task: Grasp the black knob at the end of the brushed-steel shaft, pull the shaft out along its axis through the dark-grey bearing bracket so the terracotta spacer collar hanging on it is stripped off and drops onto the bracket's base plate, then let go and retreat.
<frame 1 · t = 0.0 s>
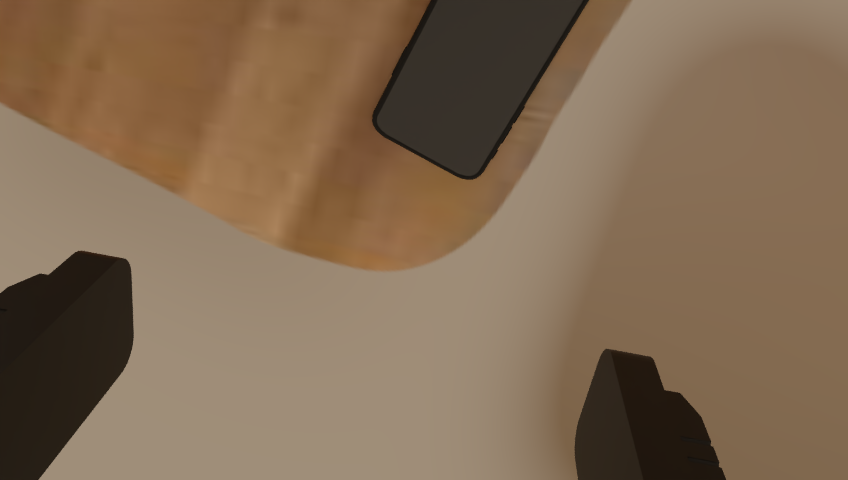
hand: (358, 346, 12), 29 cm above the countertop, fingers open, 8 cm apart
smartphone: (485, 39, 38), on the countertop
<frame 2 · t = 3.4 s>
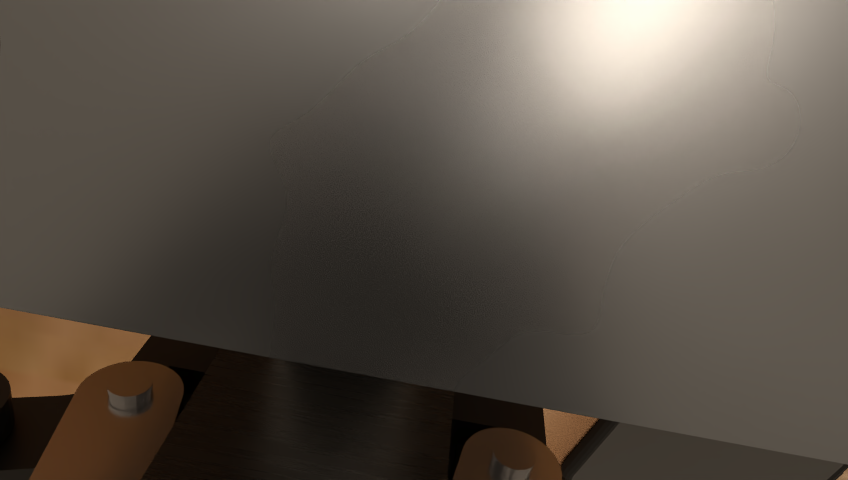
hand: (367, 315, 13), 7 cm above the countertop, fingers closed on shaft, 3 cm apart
smartphone: (781, 359, 21), on the countertop
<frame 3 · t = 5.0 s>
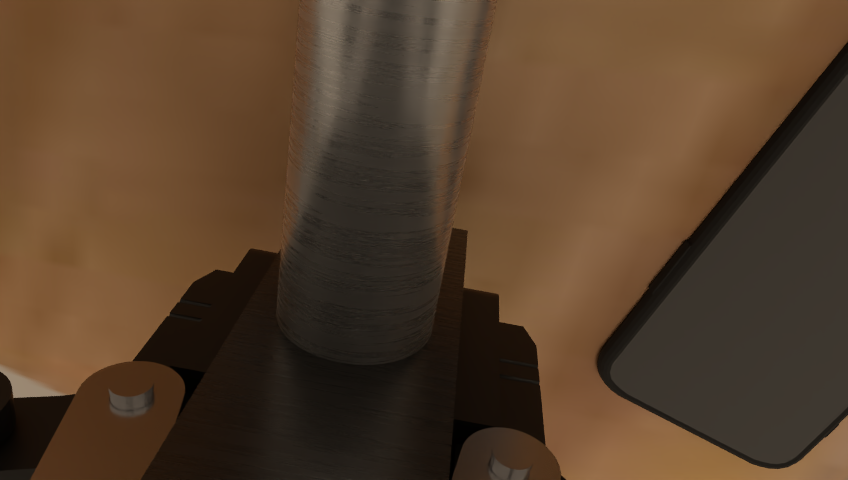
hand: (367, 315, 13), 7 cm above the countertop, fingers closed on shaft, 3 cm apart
smartphone: (845, 225, 19), on the countertop
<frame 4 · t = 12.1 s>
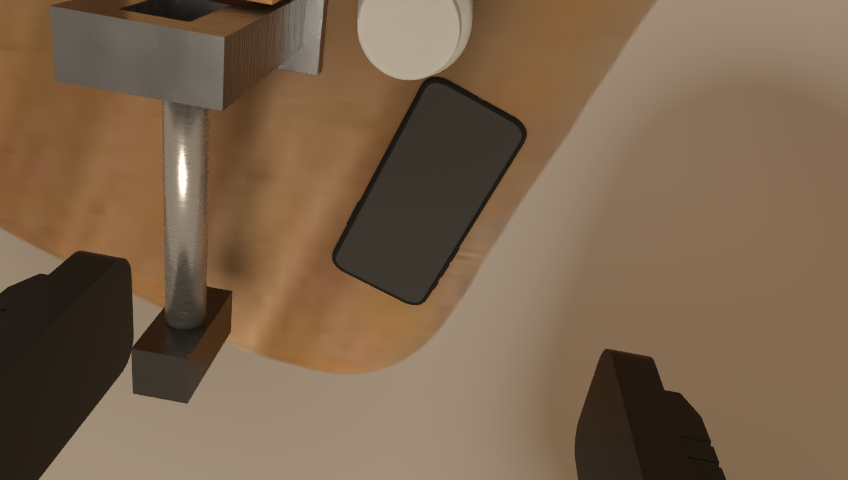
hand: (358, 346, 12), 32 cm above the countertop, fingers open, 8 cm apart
shaft: (186, 223, 37), point 9 cm above the countertop, slide at 11.3 cm
smartphone: (425, 194, 46), on the countertop
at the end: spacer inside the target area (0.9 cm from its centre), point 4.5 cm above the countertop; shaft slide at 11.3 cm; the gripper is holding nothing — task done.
